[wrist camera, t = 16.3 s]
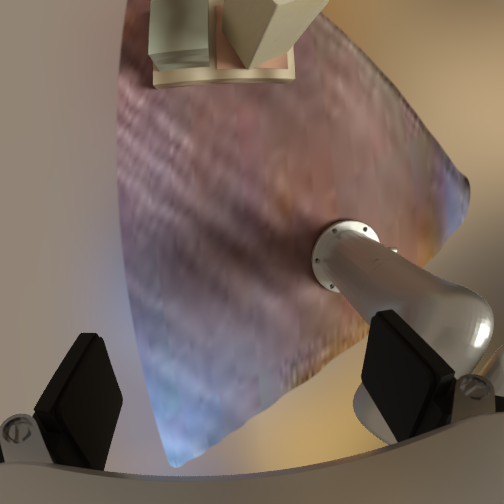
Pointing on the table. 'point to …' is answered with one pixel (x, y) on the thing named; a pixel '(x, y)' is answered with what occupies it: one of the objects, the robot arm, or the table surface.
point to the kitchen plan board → (219, 74)
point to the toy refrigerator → (266, 26)
